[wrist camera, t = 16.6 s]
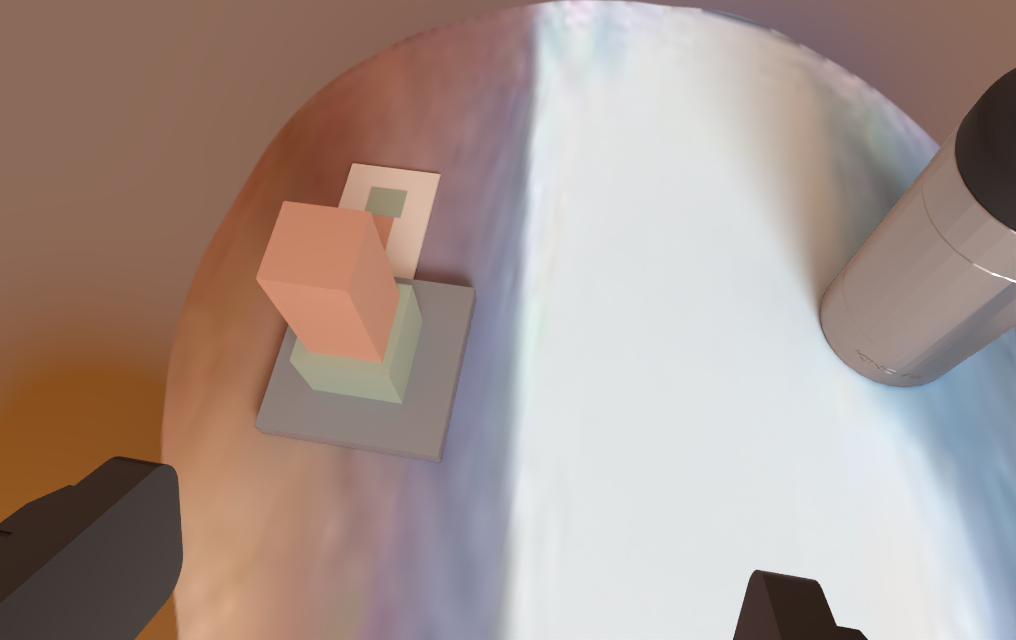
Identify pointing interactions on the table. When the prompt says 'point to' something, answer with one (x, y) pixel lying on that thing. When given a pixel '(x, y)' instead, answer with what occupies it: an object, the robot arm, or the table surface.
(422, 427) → the base plate
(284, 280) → the terracotta brick
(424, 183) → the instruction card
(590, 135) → the table surface
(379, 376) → the sage brick
